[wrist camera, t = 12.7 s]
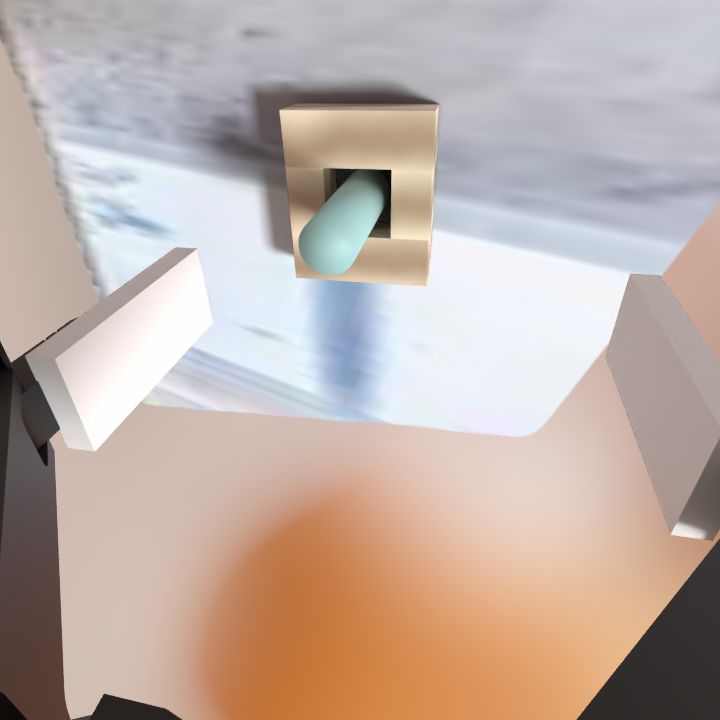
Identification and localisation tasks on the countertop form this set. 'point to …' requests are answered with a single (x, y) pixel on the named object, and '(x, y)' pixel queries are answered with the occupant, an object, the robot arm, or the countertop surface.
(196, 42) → the countertop surface
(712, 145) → the countertop surface
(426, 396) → the countertop surface
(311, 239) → the dowel
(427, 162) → the socket block
